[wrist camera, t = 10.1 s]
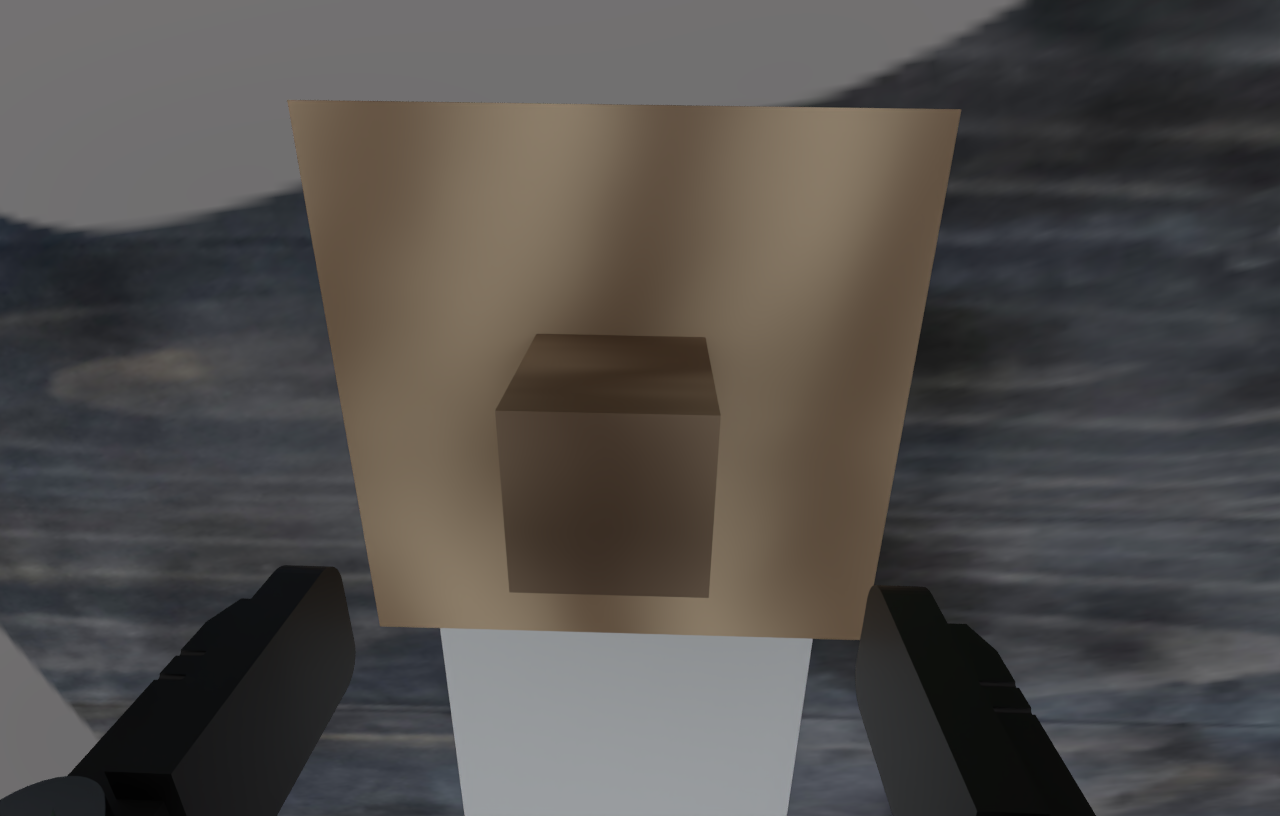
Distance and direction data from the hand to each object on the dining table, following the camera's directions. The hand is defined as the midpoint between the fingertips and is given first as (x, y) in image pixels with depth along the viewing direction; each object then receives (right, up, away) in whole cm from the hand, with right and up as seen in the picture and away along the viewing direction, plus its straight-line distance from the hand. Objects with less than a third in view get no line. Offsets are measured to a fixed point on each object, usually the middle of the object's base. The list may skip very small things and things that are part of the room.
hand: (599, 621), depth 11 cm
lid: (0, +4, +8) cm, 8 cm away
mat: (0, -12, +20) cm, 23 cm away
